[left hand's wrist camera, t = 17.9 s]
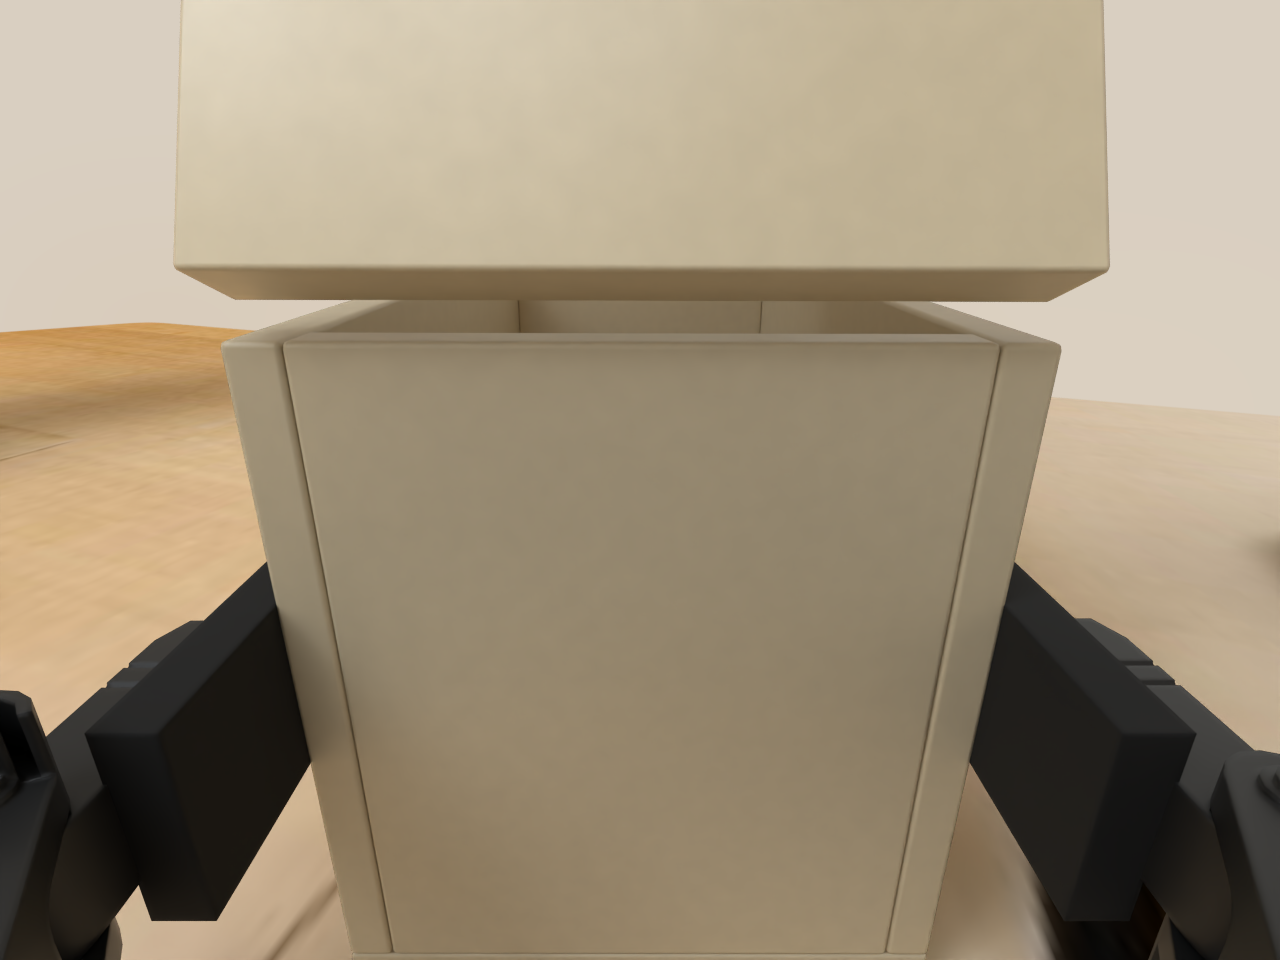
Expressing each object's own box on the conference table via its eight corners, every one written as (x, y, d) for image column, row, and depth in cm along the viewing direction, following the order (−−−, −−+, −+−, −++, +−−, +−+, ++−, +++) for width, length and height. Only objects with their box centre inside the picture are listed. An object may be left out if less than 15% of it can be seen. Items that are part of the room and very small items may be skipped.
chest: (517, 542, 28) (497, 252, 24) (761, 542, 28) (782, 253, 24) (356, 983, 12) (215, 341, 8) (921, 984, 12) (1067, 343, 8)
